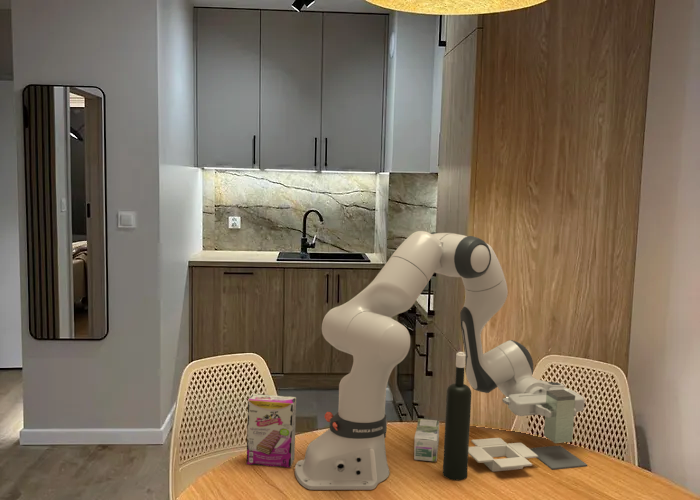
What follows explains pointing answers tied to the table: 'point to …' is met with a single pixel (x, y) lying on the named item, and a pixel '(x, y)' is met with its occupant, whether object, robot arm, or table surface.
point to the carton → (501, 454)
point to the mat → (557, 457)
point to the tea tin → (560, 416)
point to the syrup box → (426, 440)
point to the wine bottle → (457, 425)
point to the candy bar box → (271, 430)
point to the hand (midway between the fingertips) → (562, 414)
